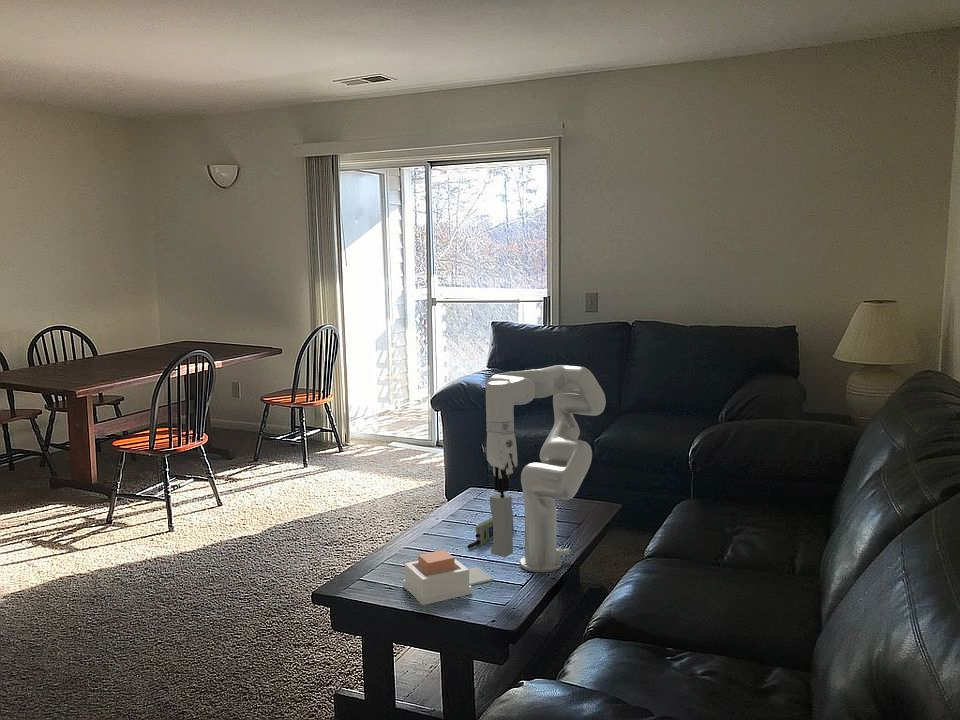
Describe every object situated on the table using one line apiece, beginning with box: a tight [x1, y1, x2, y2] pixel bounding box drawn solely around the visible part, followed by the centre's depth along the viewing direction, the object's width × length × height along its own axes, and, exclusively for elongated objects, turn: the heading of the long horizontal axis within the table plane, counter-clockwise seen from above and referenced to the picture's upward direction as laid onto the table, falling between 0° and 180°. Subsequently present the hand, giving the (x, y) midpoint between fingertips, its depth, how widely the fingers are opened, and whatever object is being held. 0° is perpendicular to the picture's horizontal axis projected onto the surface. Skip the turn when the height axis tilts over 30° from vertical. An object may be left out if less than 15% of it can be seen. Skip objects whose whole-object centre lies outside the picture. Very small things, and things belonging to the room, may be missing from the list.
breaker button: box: [417, 549, 456, 574], centre depth 226 cm, size 8×7×3 cm
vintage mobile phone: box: [489, 470, 514, 558], centre depth 224 cm, size 4×5×25 cm
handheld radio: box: [467, 509, 514, 550], centre depth 266 cm, size 7×3×25 cm
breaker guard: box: [402, 558, 473, 606], centre depth 226 cm, size 15×14×7 cm
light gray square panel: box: [468, 566, 494, 587], centre depth 235 cm, size 10×10×1 cm
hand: (501, 490), depth 223 cm, fingers closed on vintage mobile phone, 1 cm apart
